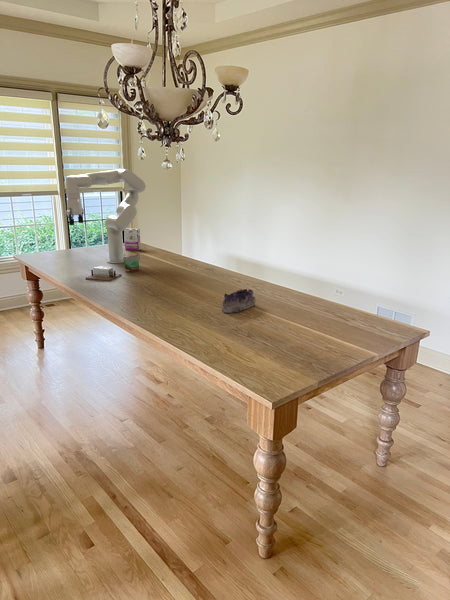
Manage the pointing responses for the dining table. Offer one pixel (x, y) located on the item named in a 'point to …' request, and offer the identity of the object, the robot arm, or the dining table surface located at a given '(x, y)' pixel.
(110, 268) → the light grey block
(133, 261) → the food container
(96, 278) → the tray
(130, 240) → the candy bar box
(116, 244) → the robot arm
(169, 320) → the dining table surface
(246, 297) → the geode
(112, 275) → the tray pins
